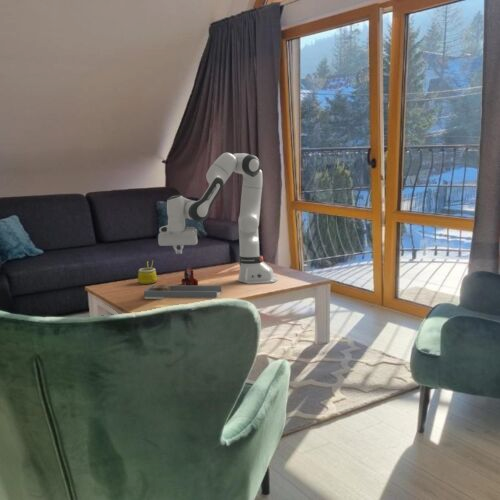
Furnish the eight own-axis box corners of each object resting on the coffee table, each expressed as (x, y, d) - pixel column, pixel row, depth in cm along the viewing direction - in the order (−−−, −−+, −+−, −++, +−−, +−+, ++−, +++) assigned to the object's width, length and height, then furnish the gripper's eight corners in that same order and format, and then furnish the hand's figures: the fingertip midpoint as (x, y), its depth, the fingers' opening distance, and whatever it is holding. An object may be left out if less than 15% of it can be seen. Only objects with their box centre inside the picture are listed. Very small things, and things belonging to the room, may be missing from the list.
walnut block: (170, 292, 301) (170, 285, 300) (167, 295, 295) (167, 287, 295) (156, 292, 302) (155, 285, 302) (152, 295, 297) (152, 287, 296)
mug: (148, 285, 322) (147, 264, 320) (134, 283, 328) (132, 263, 325) (163, 280, 332) (162, 260, 330) (149, 279, 338) (148, 259, 336)
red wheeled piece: (192, 282, 325) (191, 264, 323) (199, 287, 314) (198, 269, 312) (180, 284, 322) (179, 266, 321) (187, 289, 311) (186, 270, 309)
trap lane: (221, 293, 301) (221, 285, 300) (216, 299, 289) (216, 291, 288) (152, 292, 306) (151, 285, 306) (144, 298, 294) (144, 291, 294)
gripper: (198, 225, 295) (200, 252, 298) (159, 226, 298) (161, 253, 301) (195, 227, 289) (197, 254, 292) (156, 228, 292) (158, 255, 295)
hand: (178, 253), depth 296 cm, fingers closed
